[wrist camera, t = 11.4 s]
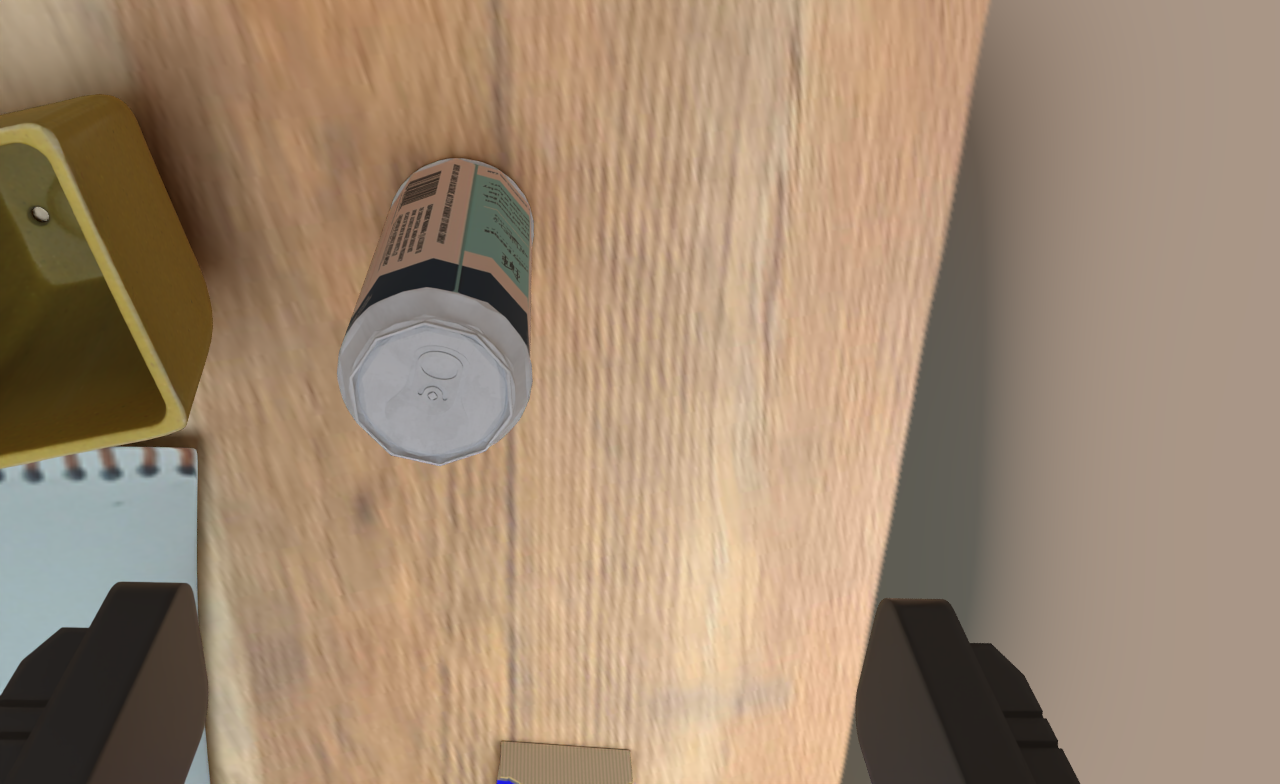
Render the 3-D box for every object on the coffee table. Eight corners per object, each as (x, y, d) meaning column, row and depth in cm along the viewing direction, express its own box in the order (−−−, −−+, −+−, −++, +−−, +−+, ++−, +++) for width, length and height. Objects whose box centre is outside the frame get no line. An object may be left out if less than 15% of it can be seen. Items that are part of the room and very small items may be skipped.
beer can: (377, 267, 37) (314, 456, 26) (407, 135, 35) (350, 283, 24) (514, 302, 38) (504, 497, 27) (551, 176, 36) (555, 335, 25)
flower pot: (19, 348, 37) (-120, 496, 29) (-115, 100, 33) (-320, 196, 25) (266, 297, 37) (192, 432, 29) (164, 40, 33) (45, 119, 25)
